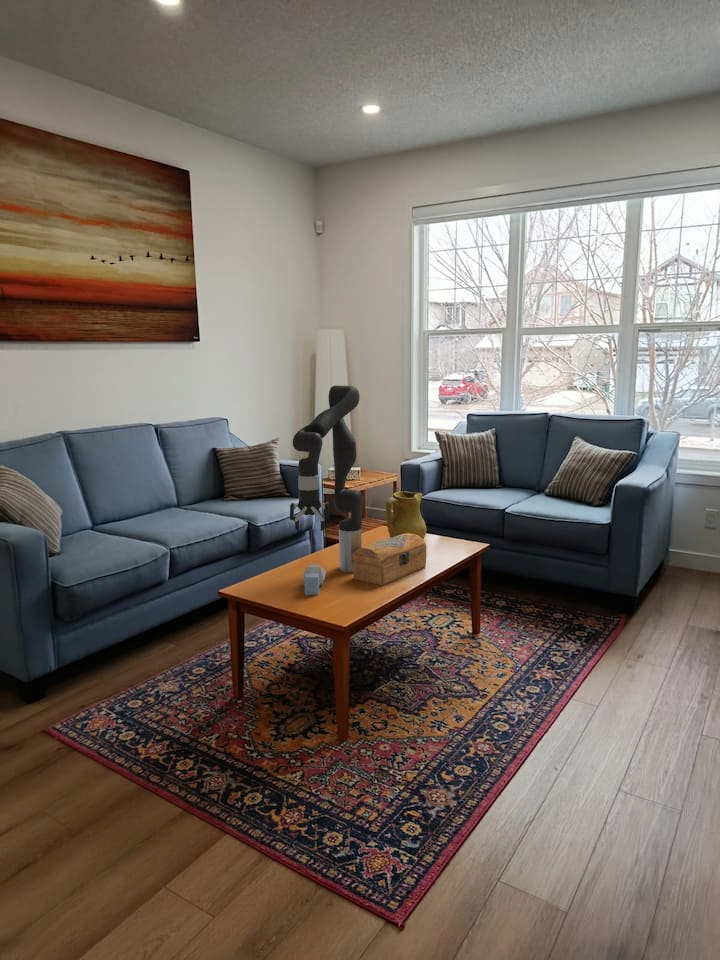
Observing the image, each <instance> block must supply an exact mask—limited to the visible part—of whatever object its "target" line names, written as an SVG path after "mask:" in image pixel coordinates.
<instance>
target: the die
mask: <svg viewBox="0 0 720 960" xmlns="http://www.w3.org/2000/svg"><path fill="white" fill-rule="evenodd" d="M305 573H319V586H321V585H323V583H324V582H325V578H326V574H327V570H325V569H324V568H323V567H321V566H320V565H319V564H317V563H316V562H315V563H311V564H310V565H307V566H306V567H305V569H304V571H303V576H302V578H301V580H302V581H303V582H304V577H305Z"/></svg>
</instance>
